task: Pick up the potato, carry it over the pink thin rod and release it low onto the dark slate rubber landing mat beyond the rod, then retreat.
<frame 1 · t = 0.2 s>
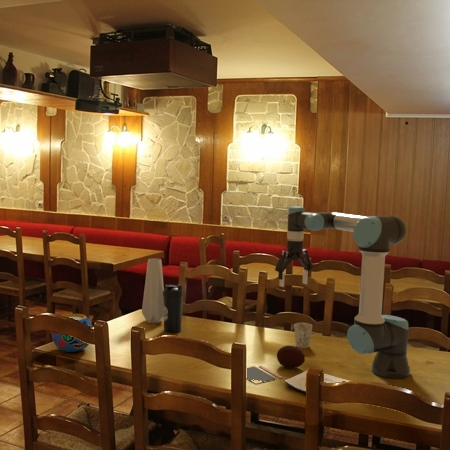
hand: (293, 285, 264), 28 cm above the table, fingers open, 13 cm apart
landing mat: (254, 375, 225), on the table
vase: (153, 321, 297), on the table
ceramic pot: (72, 350, 249), on the table
mug: (302, 348, 261), on the table
potato: (290, 368, 235), on the table
pink thin rod: (270, 372, 229), on the table
plate: (317, 388, 216), on the table
water bottle: (172, 330, 282), on the table
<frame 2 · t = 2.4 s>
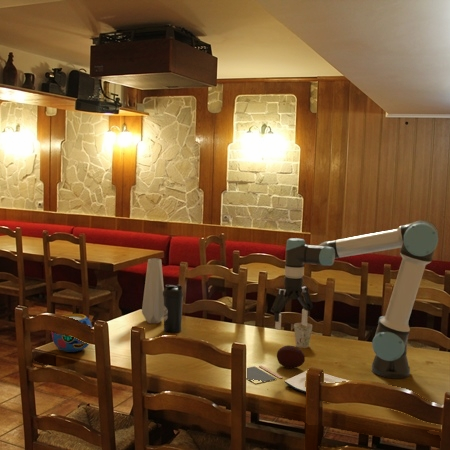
hand: (291, 327, 233), 17 cm above the table, fingers open, 13 cm apart
nothing on the table moved.
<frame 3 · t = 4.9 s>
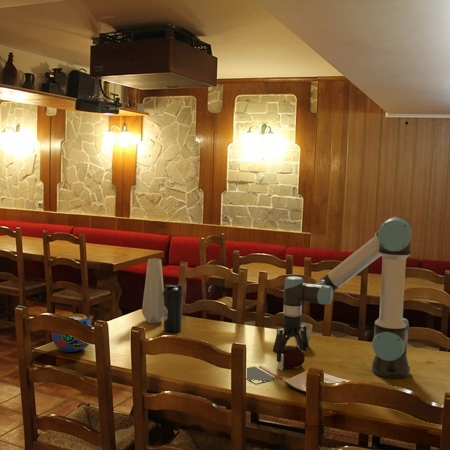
hand: (290, 367, 235), 0 cm above the table, fingers closed on potato, 9 cm apart
potato: (290, 368, 235), on the table, touching gripper
everything else where it was.
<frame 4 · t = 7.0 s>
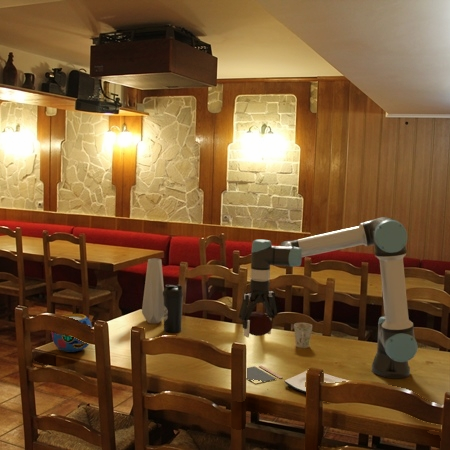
hand: (257, 334, 225), 16 cm above the table, fingers closed on potato, 9 cm apart
potato: (257, 335, 225), point 16 cm above the table, touching gripper
everything else where it was.
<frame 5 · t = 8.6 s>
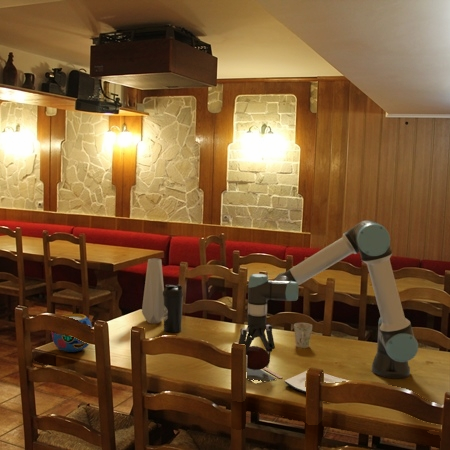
hand: (255, 368, 225), 3 cm above the table, fingers closed on potato, 9 cm apart
potato: (255, 369, 225), point 2 cm above the table, touching gripper
everything else where it was.
when the fingers open (3 cm above the table, at t = 9.5 s): potato drops 2 cm, resting on landing mat.
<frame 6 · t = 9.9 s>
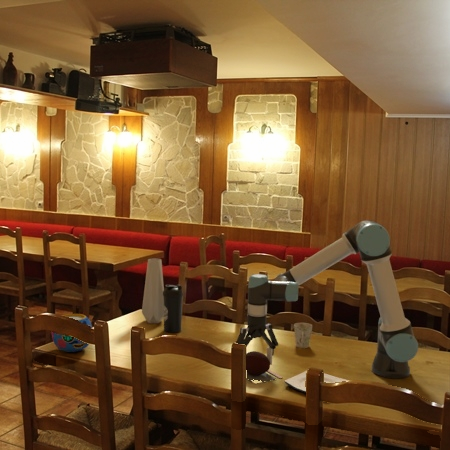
hand: (255, 366, 225), 4 cm above the table, fingers open, 13 cm apart
potato: (255, 375, 225), resting on landing mat
everything else where it was.
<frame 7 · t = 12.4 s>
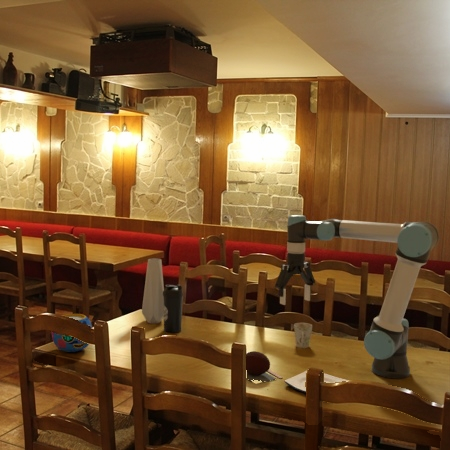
hand: (295, 302, 239), 26 cm above the table, fingers open, 13 cm apart
nothing on the table moved.
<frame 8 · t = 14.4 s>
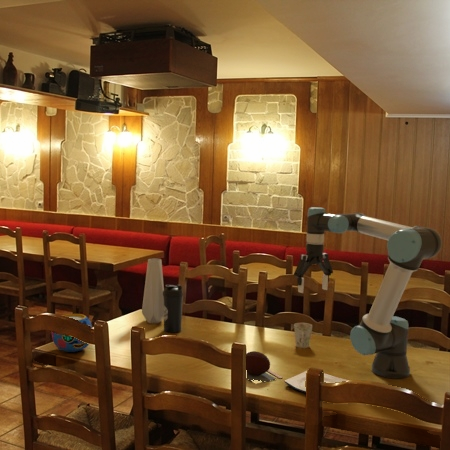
hand: (312, 291, 249), 29 cm above the table, fingers open, 13 cm apart
nothing on the table moved.
at the end: potato inside the target area (2.6 cm from its centre), resting on landing mat; the gripper is holding nothing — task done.
